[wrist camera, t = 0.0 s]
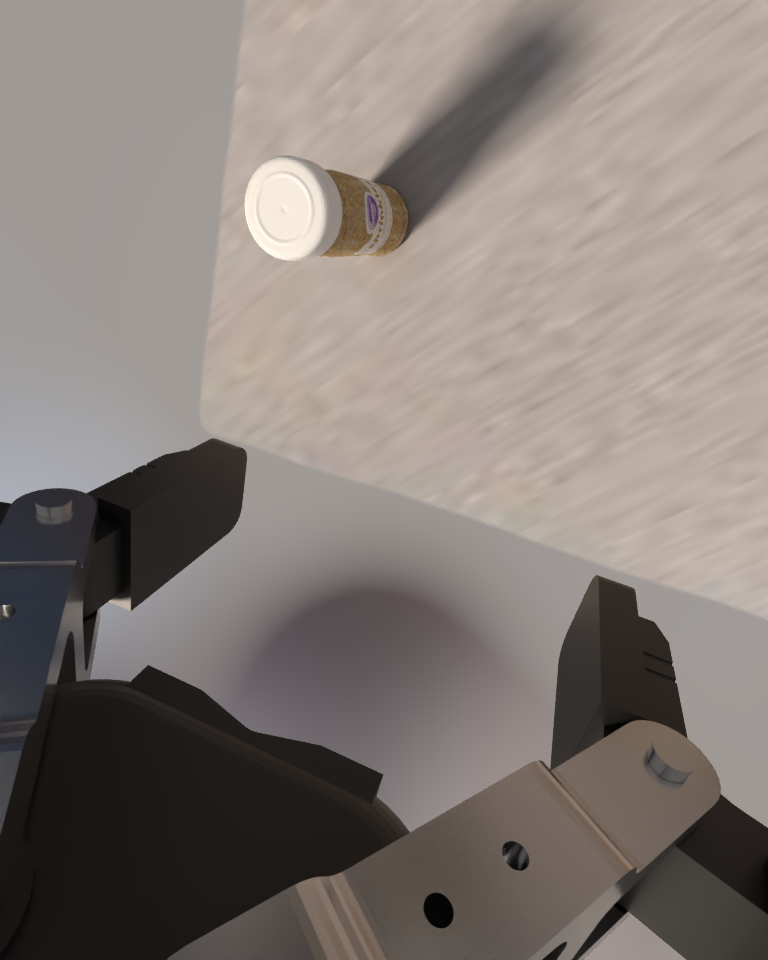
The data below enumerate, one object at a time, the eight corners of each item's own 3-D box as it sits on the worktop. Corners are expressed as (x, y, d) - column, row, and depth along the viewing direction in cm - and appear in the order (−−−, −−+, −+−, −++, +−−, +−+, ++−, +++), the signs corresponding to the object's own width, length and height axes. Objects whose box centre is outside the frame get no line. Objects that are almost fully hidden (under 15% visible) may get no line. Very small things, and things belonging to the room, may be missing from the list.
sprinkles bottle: (418, 242, 38) (341, 241, 26) (359, 265, 40) (262, 274, 28) (397, 170, 36) (306, 136, 25) (337, 198, 38) (226, 178, 27)
